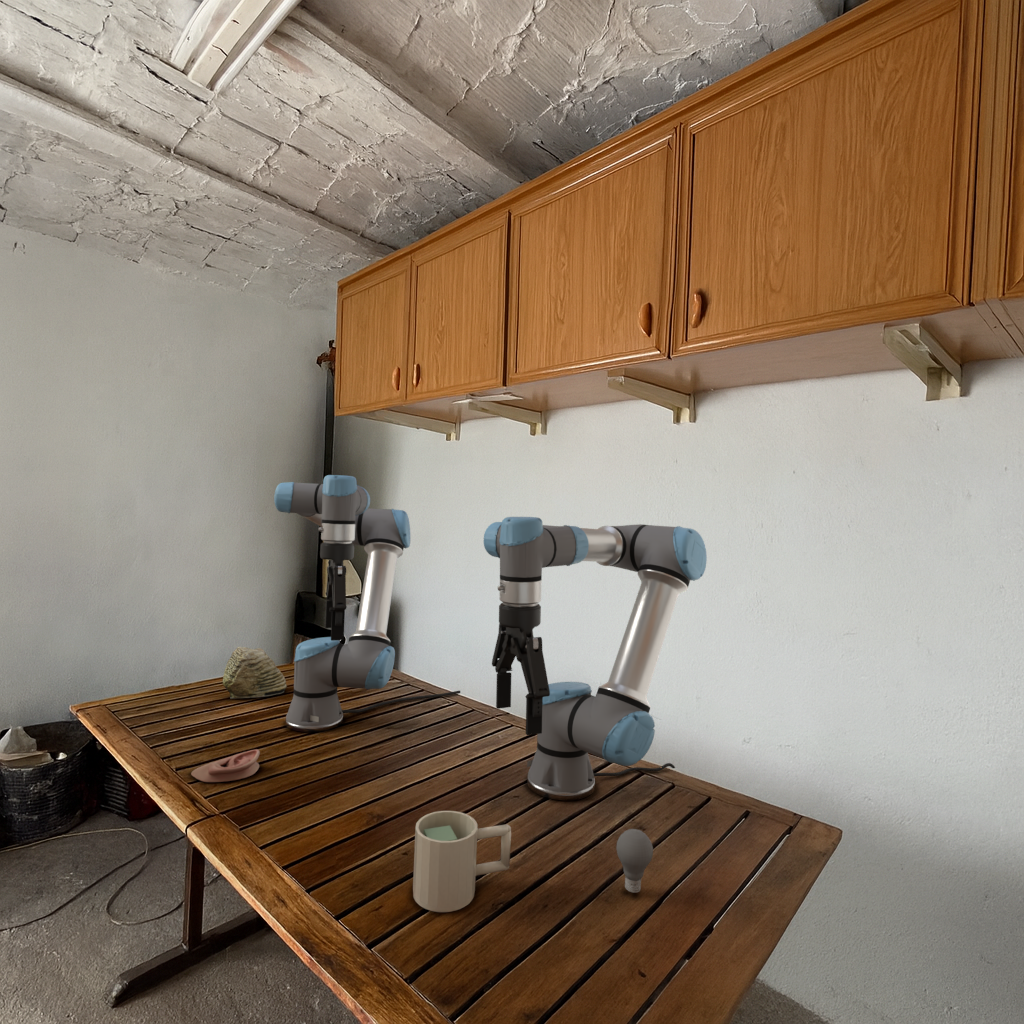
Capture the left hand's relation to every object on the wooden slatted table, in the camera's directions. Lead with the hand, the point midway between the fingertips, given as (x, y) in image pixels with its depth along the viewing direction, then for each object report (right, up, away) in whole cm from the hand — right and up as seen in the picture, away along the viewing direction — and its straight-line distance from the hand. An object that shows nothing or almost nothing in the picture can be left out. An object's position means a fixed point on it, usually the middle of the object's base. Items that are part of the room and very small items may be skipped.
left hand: (334, 633), depth 147 cm
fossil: (-39, -29, +51) cm, 71 cm away
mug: (+33, -34, -42) cm, 64 cm away
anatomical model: (-24, -31, -4) cm, 39 cm away
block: (+29, -33, -44) cm, 62 cm away
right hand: (+42, -9, -32) cm, 54 cm away
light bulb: (+61, -35, -41) cm, 82 cm away
